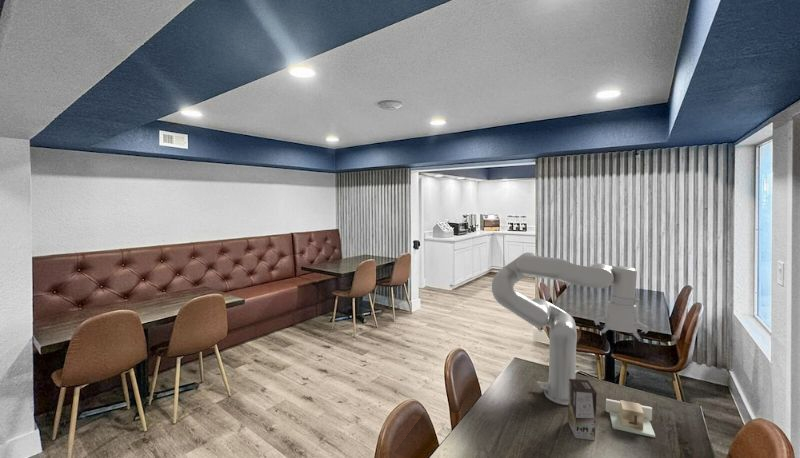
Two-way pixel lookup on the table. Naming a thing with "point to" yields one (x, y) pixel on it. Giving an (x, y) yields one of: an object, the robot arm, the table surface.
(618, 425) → the sage pad
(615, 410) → the cream screen
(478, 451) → the table surface
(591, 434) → the coffee box
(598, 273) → the robot arm
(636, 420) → the maple cube
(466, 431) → the table surface
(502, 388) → the table surface
